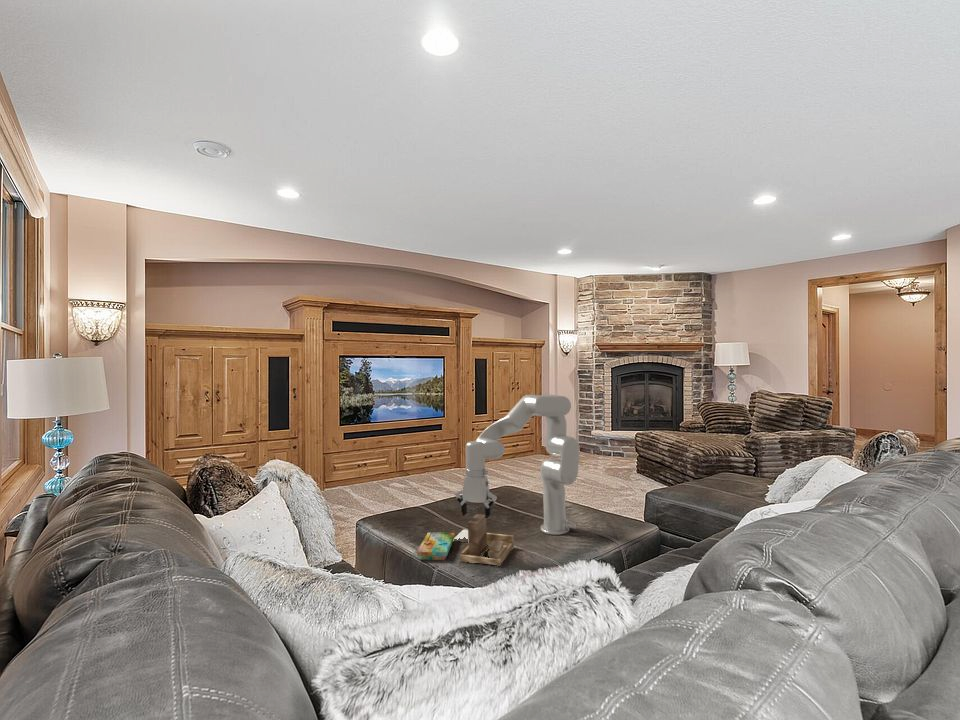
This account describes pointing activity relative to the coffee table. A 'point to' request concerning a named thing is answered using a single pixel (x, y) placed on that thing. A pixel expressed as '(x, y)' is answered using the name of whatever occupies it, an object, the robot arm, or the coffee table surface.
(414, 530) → the coffee table surface
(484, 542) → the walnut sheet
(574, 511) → the coffee table surface
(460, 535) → the mat
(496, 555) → the offcut low
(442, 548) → the puzzle game
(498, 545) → the offcut top
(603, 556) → the coffee table surface
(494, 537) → the frame
